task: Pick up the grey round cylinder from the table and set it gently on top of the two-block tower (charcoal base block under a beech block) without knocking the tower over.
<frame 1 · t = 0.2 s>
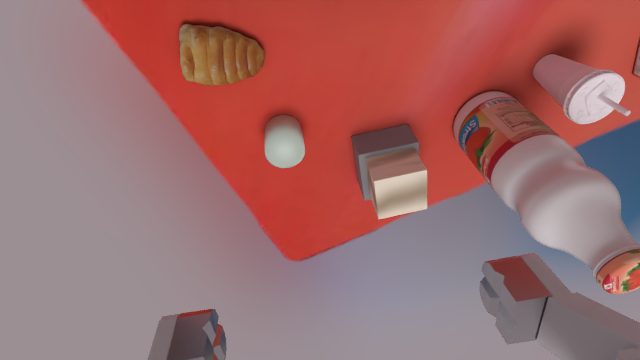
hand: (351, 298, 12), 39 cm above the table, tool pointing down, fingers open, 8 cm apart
pastry: (217, 50, 45), on the table
tower base: (381, 152, 57), on the table
grey round cylinder: (283, 131, 52), on the table
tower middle: (391, 172, 53), point 5 cm above the table
fruit juice: (482, 119, 55), on the table
smoothie: (545, 67, 51), on the table
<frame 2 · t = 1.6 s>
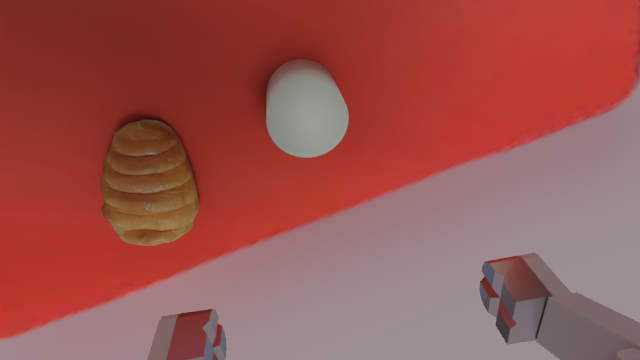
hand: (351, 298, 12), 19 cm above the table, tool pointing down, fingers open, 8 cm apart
pastry: (153, 178, 30), on the table
grey round cylinder: (301, 94, 28), on the table
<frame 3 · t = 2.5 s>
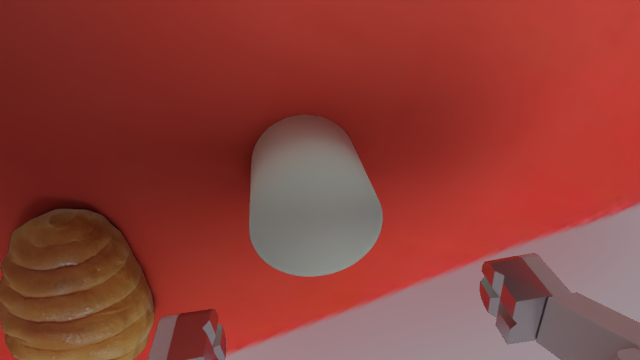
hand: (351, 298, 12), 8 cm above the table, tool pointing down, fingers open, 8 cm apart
pastry: (87, 279, 21), on the table
grey round cylinder: (303, 163, 19), on the table
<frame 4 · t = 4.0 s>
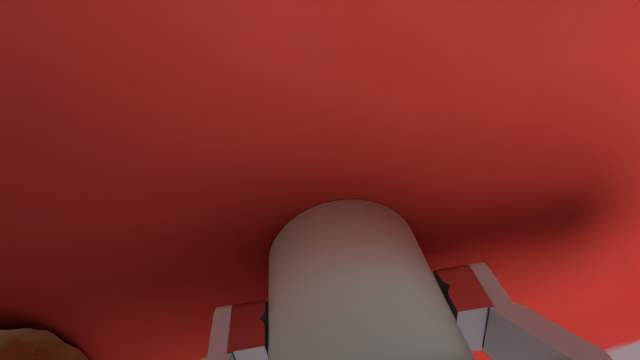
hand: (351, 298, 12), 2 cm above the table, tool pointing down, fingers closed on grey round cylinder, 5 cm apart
grey round cylinder: (343, 260, 13), on the table, touching gripper
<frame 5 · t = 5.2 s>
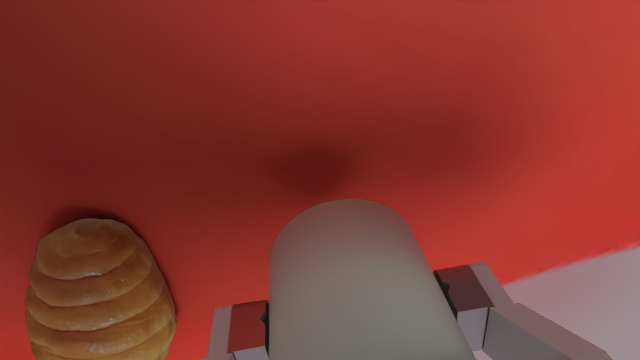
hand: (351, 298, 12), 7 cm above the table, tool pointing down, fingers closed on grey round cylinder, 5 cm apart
pastry: (111, 286, 21), on the table
grey round cylinder: (343, 259, 13), point 6 cm above the table, touching gripper
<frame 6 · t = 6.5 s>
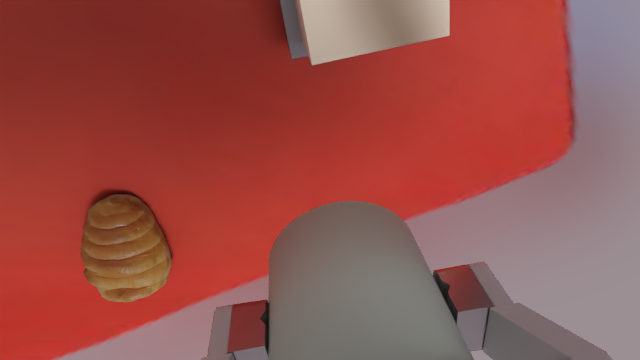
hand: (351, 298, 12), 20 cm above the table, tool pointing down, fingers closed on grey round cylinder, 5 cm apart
pastry: (129, 239, 34), on the table
grey round cylinder: (343, 262, 13), point 18 cm above the table, touching gripper
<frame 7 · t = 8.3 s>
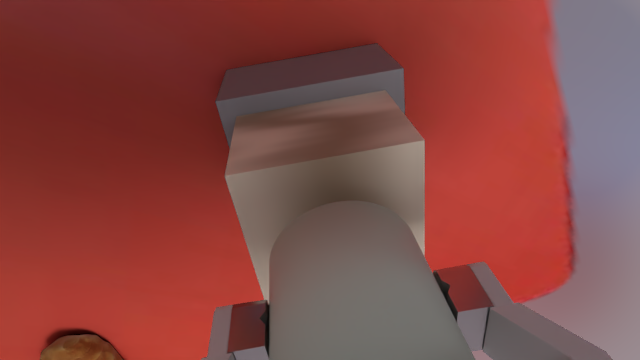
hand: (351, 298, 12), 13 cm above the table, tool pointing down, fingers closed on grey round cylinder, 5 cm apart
tower base: (313, 124, 23), on the table
grey round cylinder: (343, 261, 13), point 11 cm above the table, touching gripper
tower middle: (321, 167, 18), point 5 cm above the table
when the fingers open (13 cm above the table, at t = 8.9 s): grey round cylinder drops 1 cm, resting on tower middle.
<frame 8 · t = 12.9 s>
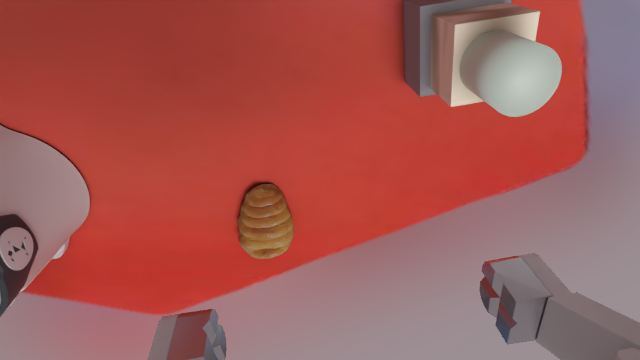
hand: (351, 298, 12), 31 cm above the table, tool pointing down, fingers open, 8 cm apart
pastry: (264, 216, 49), on the table
tower base: (442, 35, 39), on the table, touching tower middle
grey round cylinder: (490, 63, 31), point 10 cm above the table, touching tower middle
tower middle: (465, 47, 35), point 5 cm above the table, touching grey round cylinder, tower base
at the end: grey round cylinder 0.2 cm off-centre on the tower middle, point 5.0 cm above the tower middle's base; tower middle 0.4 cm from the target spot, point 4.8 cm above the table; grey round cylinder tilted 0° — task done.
